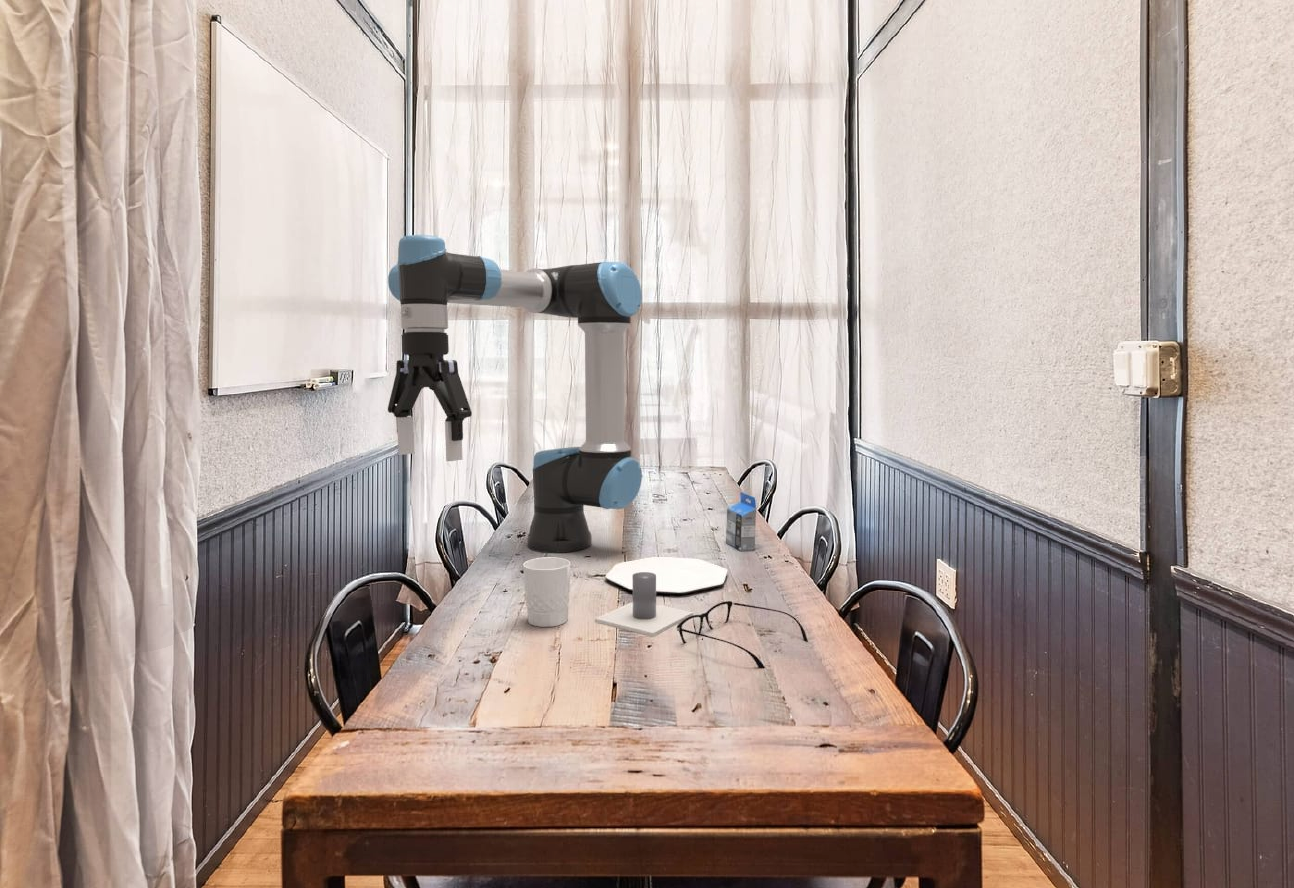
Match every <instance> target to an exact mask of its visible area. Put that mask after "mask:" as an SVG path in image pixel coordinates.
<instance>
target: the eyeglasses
mask: <svg viewBox="0 0 1294 888" xmlns="http://www.w3.org/2000/svg"><path fill="white" fill-rule="evenodd" d="M723 605H727V612H726V613H727V614H726V619H725V622H724V624H727V623H729V619H730V613H731V609H732V607H733V606H740V607H746V608H754V609H760V610H767V611H772V612H777V613H782V614H785V615H786V616H789V617H790V618H792V619H793V620H794V621H795V622H796V623H797V624H798V626H799V629H800V631H801V635H802V639H803V642H806V643H809V641H808V637H807V634H806V632H805V631H806V630H805V629H804V627H803V626H802V624H801V622H800V621H799V620H798V619H797V618H795V617H794V616H793V615H791V614H789V613H787V612H785V611H782V610H777V609H772V608H768V607H767V608H766V607H760V606H756V605H750V604H744V603H739V602H733V601H732V600H731V601H730V600H727V601H721V602H719V603H716V604H715V605H713V606H712V607H710V608H709V609H708V610H707V611H706V612H704V613H701V614H693V616H690V617H688V618H686V619H684V620H683V621H682V622H680V623H678V624H676V630H677V632H679V636H680V638H681V641H682V643H683V644H686V643H688V642H687V641H686V640H685V637H684V634H683V632H685V633H689V634H693V635H696V636H698V637H699V636H700V637H704V638H707V639H712V640H716V641H720V642H723V643H727V644H730V645H732V646H735V647H737V648H739V649H741V650H743V651H744V652H746V653H747V654H749V656H750V657H751V658H752V659H753V661H754V662H755V664H756V665H757V668H759V669H766V667H765V665H764V664H763V662H762V661H761V660H760V658H759V657H758V656H756V654H754V653H753V652H751V651H749V650H748V649H746V648H744V647H742V646H740V645H738V644H736V643H734V642H732V641H731V642H730V641H727V640H723V639H721V638H717V637H713V636H710V635H706V634H704V633H703V634H702V629H705V625H706V624H705V622H704V618H705V621H706V623H707V626H708V628H709V629H710V630H713V629H714V628H713V627H712V624H711V623H710V619H709V615H710V613H711V612H712V611H713V610H714V609H716V608H718V607H720V606H723ZM695 618H699V619H700V622H699V630H698V632H695V631H692V630H687V629H684V628H683V625H684V624H685V623H686V622H688V621H690V620H691V619H695Z"/></svg>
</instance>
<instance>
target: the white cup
mask: <svg viewBox="0 0 1294 888" xmlns="http://www.w3.org/2000/svg"><path fill="white" fill-rule="evenodd" d="M522 567H523V581H524V582H523V583H524V585H523V586H524V592H525V593H524V594H525V595H524V596H525V605H526V610H527V611H526V612H527V621H528V624H530V625H532V626H534V627H540V628H552V627H553V628H554V627H558V626H561V625H563V624H565V623H567V621H568V619H569V602H570V593H571V592H570V591H571V589H570V585H571V561H570V560H568V559H566V558H562V557H554V556H550V557H549V556H546V557H536V558H531V559H529V560H526V561H525V562H524V563H523V564H522Z"/></svg>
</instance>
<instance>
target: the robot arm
mask: <svg viewBox="0 0 1294 888" xmlns="http://www.w3.org/2000/svg"><path fill="white" fill-rule="evenodd" d="M397 250H398V251H397V264H395V265H393V266H392V268H391V269H390V271H389V273H388V276H387V283H388V289H389V291H390V293H391V295H392V297H394V298H395V299H396V300H397V301H399V303H400V319H401V322H400V323H401V328H402V329H403V330H405V332H402V334H401V352H402V354H403V355H405V356H408V359H405V360H404V359H400V360H399V359H398V360H396V369H395V370H396V373H395V377H394V381H393V386H392V389H391V393H390V398H389V402H388V405H387V412H388V413H392V414H393V416H394V417H395V420H396V421H395V422H396V434H397V450H398V454H397V455H398V456H399V455H400V456H402V455H412V454H415V439H414V438H415V436H414V435H415V433H414V416H413V412H412V410H413V408H414V405H415V403H416V402H417V399H418V397H419V395H420V393H421V391H422V390H423V389H424V388H428V389H430V390H431V391H433V393H434V395H435V396H436V399H437V401H438V403H439V405H440V406H441V408H442V410H443V412H444V413H445V416H446V419H445V420H444V429H445V430H444V434H445V435H444V436H445V439H444V440H445V460H446V462H455V461H461V460H463V439H464V426H463V425H464V423H463V421H464V420H465V419H466V418H470V417H472V409H471V407H470V404H469V400H468V397H467V394H466V392H465V389H464V386H463V382H462V381H461V377H460V374H459V367H458V361H457V360H456V359H447V360H445V359H444V355H445V356H446V355H448V354H449V351H450V350H449V349H450V347H449V334H448V333H447V332H445V330H447V329H448V328H449V316H448V315H449V314H448V312H449V311H448V304H455V305H457V304H458V305H460V304H461V305H475V306H476V305H477V306H491V307H492V306H493V307H507V308H508V307H509V308H510V307H511V308H524V309H525V310H526V311H528V312H530V313H533V314H543V315H544V314H545V315H550V316H557V317H561V318H563V317H564V318H569V319H570V318H571V319H572V318H573V319H574V318H577V326H578V327H579V329H581V330H582V331H583V333H584V371H585V372H584V374H585V375H584V382H585V383H584V385H585V386H584V388H585V391H584V392H585V393H584V396H585V400H584V401H585V441H584V443H583V444H581V446H571V447H569V446H568V447H560V448H553V449H546V450H545V449H544V450H540V451H537V452H536V453H534V455H533V460H532V461H533V462H532V463H533V464H532V465H533V466H532V488H533V510H534V511H533V513H534V514H533V517H532V520H531V524H530V528H529V533H528V534H527V537H526V538H527V543H526V544H527V546H526V547H527V548H528V549H530V550H532V551H535V552H540V553H569V552H570V553H571V552H576V551H581V550H584V549H588V548H589V547H591V546H592V545H593V544H592V533H591V531H590V528H589V525H588V521H587V518H586V514H585V512H584V511H585V509H584V508H585V507H584V506H587V507H595V508H601V509H604V510H611V509H612V510H622V509H625V508H627V507H628V506H630V505H631V504H632V503H633V502H634V501H635V498H636V497H637V496H638V494H639V491H640V489H641V485H642V481H643V480H642V479H643V473H642V472H643V470H642V467H641V465H640V462H639V461H638V460H637V459H636V458H634V457H632V448H631V446H630V445H628V443H627V442H626V441H625V343H624V342H625V340H624V338H625V336H624V335H625V332H626V331H628V329H629V328H630V326H631V324H632V323H631V317H633V316H635V315H636V314H637V313H638V311H639V310H640V307H641V305H642V297H643V295H642V288H641V283H640V280H639V278H638V276H637V275H636V274H635V272H634V270H633V269H632V267H630V266H629V265H628V264H626V263H624V262H620V261H600V262H592V263H583V264H571V265H564V266H559V267H558V266H557V267H551V268H530V269H528V270H526V271H520V270H519V271H517V270H516V271H515V270H508V269H500V266H499V265H498V264H497V262H495V261H494V260H492V259H490V258H487V257H483V256H481V255H477V256H474V255H469V254H468V255H466V254H458V253H453V252H452V253H451V252H448V251H447V248H446V242H445V240H444V239H443V238H442V237H439V236H436V235H428V234H427V235H426V234H411V235H410V234H409V235H405V236H403V237H401V238H400V239H399V241H398V248H397Z"/></svg>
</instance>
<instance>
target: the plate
mask: <svg viewBox="0 0 1294 888" xmlns="http://www.w3.org/2000/svg"><path fill="white" fill-rule="evenodd" d="M639 572H649V573H654V574H656V594H667V595H669V594H670V595H671V594H672V595H673V594H674V595H685V594H690V593H694V592H695V593H696V592H699V591H703V590H708V589H713V588H717V587H721V586H723V585H724V584H725V580H726V579H727V575H728V572H729V570H728V569H727V568H726V567H723V566H719V565H716V564H714V563H712V562H708V561H706V560H704V559H703V560H702V559H700V558H699V559H698V558H689V557H688V558H687V557H666V556H651V557H645V558H640V559H634V560H630V561H629V560H628V561H623V562H618V563H615V564H614V566H613V567H612V568H611V569H610V570H609V571H608V572H607V574H606V575H605V576H604V579H606V581H608V582H611V583H613V584H615V585H616V586H619V587H621V588H624V589H625V590H627V591H630V592H633V577H632V576H633V574H635V573H639Z"/></svg>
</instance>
